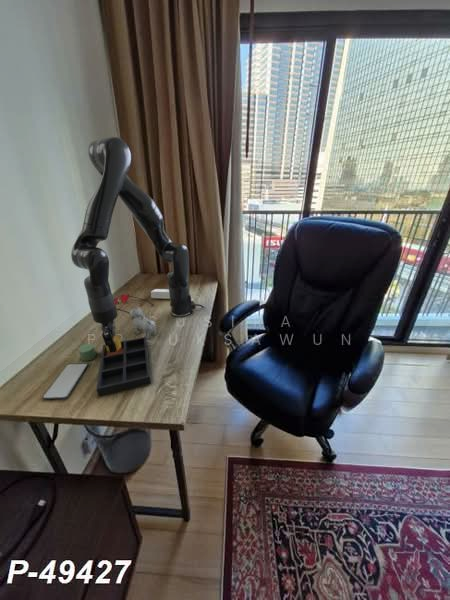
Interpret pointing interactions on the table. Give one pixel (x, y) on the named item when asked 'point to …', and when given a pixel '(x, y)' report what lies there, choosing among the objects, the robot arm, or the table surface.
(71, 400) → the table surface
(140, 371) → the grid
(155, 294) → the white box
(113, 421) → the table surface
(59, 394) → the smartphone
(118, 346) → the ochre token
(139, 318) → the dog figurine
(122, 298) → the glasses
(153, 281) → the table surface
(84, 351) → the green short cylinder
